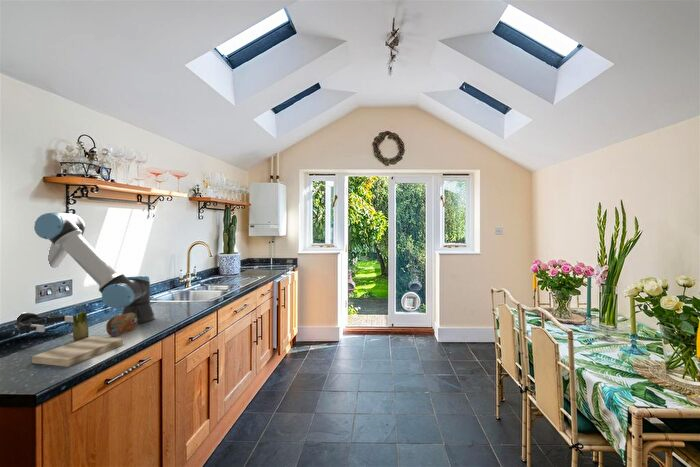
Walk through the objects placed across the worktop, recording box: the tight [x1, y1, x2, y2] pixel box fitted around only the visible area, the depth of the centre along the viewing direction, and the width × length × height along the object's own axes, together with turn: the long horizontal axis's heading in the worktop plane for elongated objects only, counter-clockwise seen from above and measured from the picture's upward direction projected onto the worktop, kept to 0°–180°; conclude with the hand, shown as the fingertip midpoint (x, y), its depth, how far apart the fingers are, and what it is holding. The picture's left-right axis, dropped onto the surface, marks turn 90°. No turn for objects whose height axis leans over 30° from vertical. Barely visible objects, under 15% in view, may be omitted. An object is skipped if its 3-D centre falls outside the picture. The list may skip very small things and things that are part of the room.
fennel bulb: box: [72, 311, 90, 342], centre depth 144 cm, size 6×5×12 cm
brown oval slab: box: [106, 312, 139, 337], centre depth 154 cm, size 15×3×8 cm, turn 168°
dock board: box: [31, 335, 124, 367], centre depth 129 cm, size 22×16×2 cm
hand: (61, 323), depth 146 cm, fingers open, 13 cm apart
